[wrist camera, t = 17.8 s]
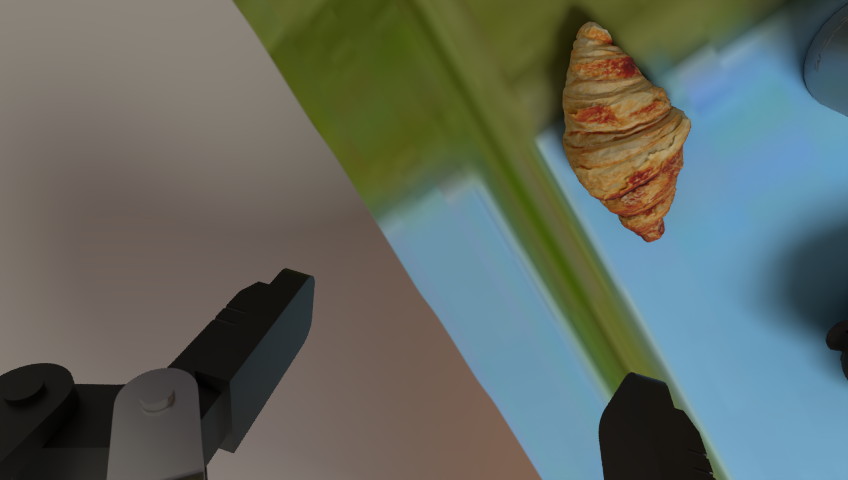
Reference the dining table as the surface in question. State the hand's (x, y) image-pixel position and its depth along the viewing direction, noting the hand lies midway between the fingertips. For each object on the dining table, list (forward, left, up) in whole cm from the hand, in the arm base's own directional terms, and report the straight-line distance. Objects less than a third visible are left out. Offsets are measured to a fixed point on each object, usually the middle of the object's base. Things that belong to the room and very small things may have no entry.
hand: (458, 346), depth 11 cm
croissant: (-11, +3, -37) cm, 38 cm away
